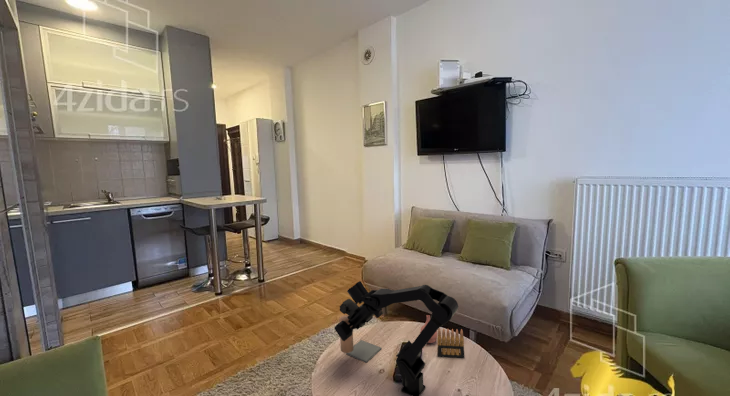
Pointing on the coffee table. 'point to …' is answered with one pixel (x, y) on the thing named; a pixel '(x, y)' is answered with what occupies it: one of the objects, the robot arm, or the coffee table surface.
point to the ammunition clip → (445, 344)
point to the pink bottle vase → (433, 335)
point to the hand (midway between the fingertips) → (343, 332)
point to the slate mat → (364, 351)
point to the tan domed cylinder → (347, 344)
